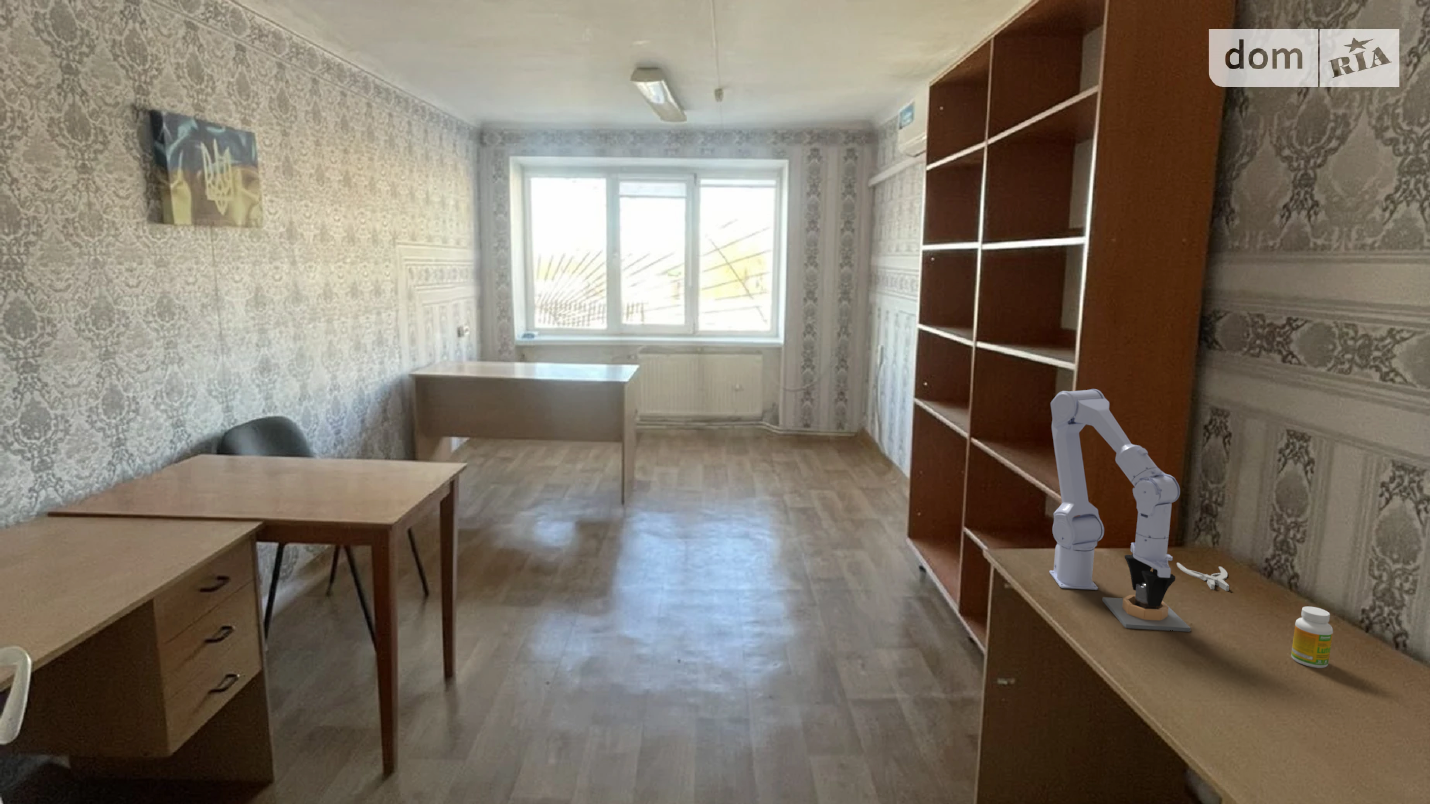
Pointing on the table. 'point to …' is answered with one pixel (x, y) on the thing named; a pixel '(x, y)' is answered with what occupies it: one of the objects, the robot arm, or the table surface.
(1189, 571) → the pliers
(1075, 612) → the table surface
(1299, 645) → the supplement bottle
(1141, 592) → the cell
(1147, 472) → the robot arm
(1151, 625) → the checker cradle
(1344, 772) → the table surface
